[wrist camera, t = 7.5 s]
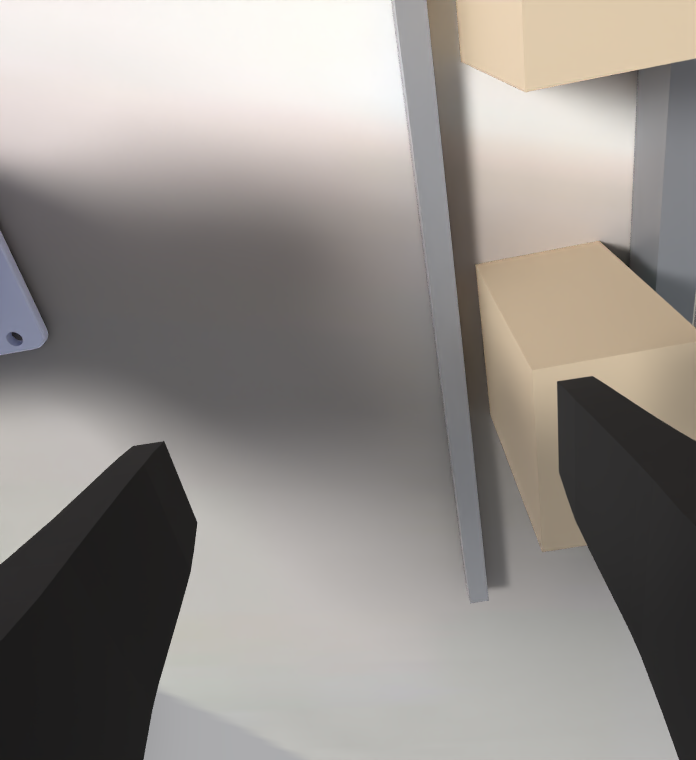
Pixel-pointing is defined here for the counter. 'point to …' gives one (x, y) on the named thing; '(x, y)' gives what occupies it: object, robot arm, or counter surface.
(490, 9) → the faced tea box
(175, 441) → the counter surface
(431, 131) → the pair of grey rails
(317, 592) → the counter surface
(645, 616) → the robot arm
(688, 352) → the box
